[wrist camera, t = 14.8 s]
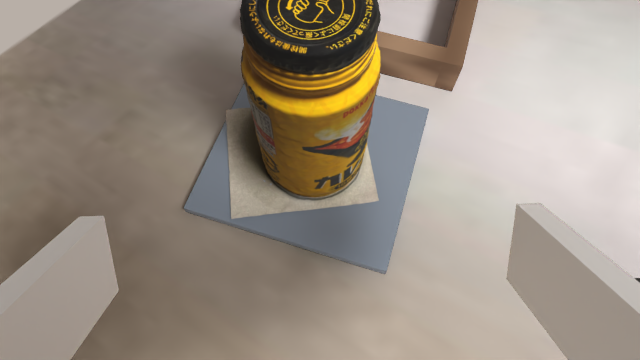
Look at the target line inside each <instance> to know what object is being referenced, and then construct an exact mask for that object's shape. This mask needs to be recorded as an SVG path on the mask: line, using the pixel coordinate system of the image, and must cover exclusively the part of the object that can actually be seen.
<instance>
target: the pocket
mask: <svg viewBox="0 0 640 360" xmlns="http://www.w3.org/2000/svg"><path fill="white" fill-rule="evenodd" d="M477 3H478V0H457V1H456V5H455V9H454V13H453V17H452V21H451V24H450V28H449V32H448V36H447V40H446V43H445V47H442V46H438V45H434V44H429V43H425V42H421V41H417V40H413V39H409V38H405V37H401V36H396V35H392V34H388V33H384V32H380V31H377V43H378V48H379V50H380V63H381V66H380V73H382V74H386V75H390V76H394V77H398V78H402V79H406V80H409V81H413V82H417V83H421V84H425V85H429V86H433V87H437V88H441V89H445V90H449V91H452V90H453V87H454V85H455V83H456V81H457V78H458V76H459V74H460V72H461V69H462V67H463V63H464V59H465V54H466V50H467V46H468V42H469V37H470V33H471V29H472V25H473V20H474V16H475V12H476V7H477Z"/></svg>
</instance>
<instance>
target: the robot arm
mask: <svg viewBox="0 0 640 360" xmlns="http://www.w3.org/2000/svg"><path fill="white" fill-rule="evenodd" d="M506 279H507V280H508V281H509V283H510V284H511V285H512V287H513V288H514V289H515V291H516V292H517V293H518V295H519V296H520V297H521V298H522V300H523V301H524V302H525V304H526V305H527V306H528V308H529V309H530V310H531V312H532V313H533V314H534V316H535V317H536V318H537V320H538V321H539V322H540V324H541V325H542V326H543V328H544V329H545V330H546V331H547V333H548V334H549V335H550V337H551V338H552V339H553V341H554V342H555V343H556V345H557V346H558V347H559V349H560V350H561V351H562V353H563V354H564V355H565V357H566V358H567V359H568V360H640V278H633V277H632V276H631V275H630V274H628V273H627V272H626V271H625V270H623V269H622V268H621V267H620V266H618V265H617V264H616V263H615V262H613V261H612V260H611V259H610V258H608V257H607V256H606V255H605V254H603V253H602V252H601V251H600V250H598V249H597V248H596V247H595V246H593V245H592V244H591V243H590V242H588V241H587V240H586V239H585V238H583V237H582V236H581V235H580V234H578V233H577V232H576V231H575V230H573V229H572V228H571V227H570V226H568V225H567V224H566V223H565V222H563V221H562V220H561V219H560V218H558V217H557V216H556V215H554V214H553V213H552V212H551V211H549V210H548V209H547V208H546V207H544V206H543V205H542V204H541V203H531V204H517V205H516V212H515V220H514V227H513V234H512V241H511V249H510V256H509V263H508V271H507V278H506ZM118 291H119V289H118V284H117V279H116V274H115V269H114V264H113V259H112V254H111V249H110V244H109V239H108V234H107V229H106V224H105V219H104V216H79V217H78V218H77V219H76V220H75V221H74V222H72V223H71V224H70V225H69V226H68V227H67V228H65V229H64V230H63V231H62V232H61V233H60V234H59V235H57V236H56V237H55V238H54V239H53V240H52V241H50V242H49V243H48V244H47V245H46V246H45V247H43V248H42V249H41V250H40V251H39V252H38V253H36V254H35V255H34V256H33V257H32V258H31V259H30V260H28V261H27V262H26V263H25V264H24V265H23V266H21V267H20V268H19V269H18V270H17V271H16V272H14V273H13V274H12V275H11V276H10V277H9V278H8V279H6V280H5V281H4V282H3V283H2V284H1V285H0V360H71V358H72V357H73V356H74V354H75V353H76V351H77V350H78V348H79V347H80V346H81V344H82V343H83V341H84V340H85V338H86V337H87V336H88V334H89V333H90V331H91V330H92V328H93V327H94V326H95V324H96V323H97V321H98V320H99V318H100V317H101V316H102V314H103V313H104V311H105V310H106V308H107V307H108V306H109V304H110V303H111V301H112V300H113V298H114V297H115V295H116V294H117V293H118Z"/></svg>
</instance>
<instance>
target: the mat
mask: <svg viewBox="0 0 640 360" xmlns="http://www.w3.org/2000/svg"><path fill="white" fill-rule="evenodd" d="M238 108H250V104H249V101H248V98H247V91H246V87H245V83H244V84H243V86H242V88H241V90H240V92H239V94H238V97H237V99H236V101H235V103H234V105H233V107H232V109H238ZM428 111H429V109H427V108H423V107H419V106H415V105H412V104H408V103H404V102H400V101H396V100H393V99H389V98H385V97H381V96H377V95H375V100H374V104H373V111H372V118H371V124H370V127H369V134H368V139H367V145H368V151H369V155H370V160H371V165H372V170H373V174H374V180H375V184H376V189H377V194H378V199H379V201H375V202H370V203H362V204H353V205H347V206H337V207H329V208H321V209H313V210H303V211H293V212H283V213H275V214H265V215H260V216H250V217H242V218H235V219H231V198H230V180H229V173H230V171H229V159H228V141H227V124H226V121H225V123H224V125H223V128H222V130H221V132H220V134H219V136H218V138H217V140H216V142H215V144H214V146H213V148H212V150H211V152H210V154H209V156H208V158H207V161H206V163H205V165H204V167H203V169H202V171H201V173H200V175H199V177H198V179H197V181H196V183H195V185H194V187H193V189H192V192H191V194H190V196H189V198H188V200H187V202H186V204H185V206H184V209H185V211H186V212H188V213H192V214H195V215H198V216H201V217H204V218H207V219H211V220H214V221H217V222H220V223H223V224H227V225H230V226H233V227H236V228H239V229H242V230H246V231H249V232H252V233H255V234H258V235H262V236H265V237H268V238H271V239H274V240H278V241H281V242H284V243H287V244H290V245H293V246H297V247H300V248H303V249H306V250H309V251H313V252H316V253H319V254H322V255H325V256H328V257H332V258H335V259H338V260H341V261H344V262H348V263H351V264H354V265H357V266H360V267H364V268H367V269H370V270H373V271H376V272H379V273H383V274H385V273H386V271H387V267H388V264H389V260H390V256H391V252H392V248H393V245H394V241H395V237H396V233H397V229H398V225H399V222H400V218H401V214H402V210H403V206H404V202H405V199H406V195H407V191H408V187H409V183H410V180H411V176H412V172H413V168H414V164H415V160H416V157H417V153H418V149H419V145H420V141H421V137H422V134H423V130H424V126H425V122H426V118H427V115H428ZM263 181H264V180H263ZM264 182H265V181H264ZM270 185H272V184H271V183H270Z"/></svg>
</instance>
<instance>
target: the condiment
mask: <svg viewBox="0 0 640 360" xmlns="http://www.w3.org/2000/svg"><path fill="white" fill-rule="evenodd" d="M240 13H241V17H240V20H241V29H242V33H243V40H244V47H243V50H242V58H241V71H242V77H243V79H244V83H245V87H246V91H247V98H248V101H249V104H250V108H238V109H230V110H226V124H227V141H228V159H229V171H230V173H229V180H230V198H231V219H235V218H242V217H250V216H260V215H265V214H275V213H283V212H293V211H303V210H313V209H321V208H329V207H337V206H347V205H353V204H362V203H370V202H375V201H379V199H378V194H377V189H376V184H375V180H374V174H373V170H372V165H371V160H370V155H369V151H368V145H367V139H368V134H369V127H370V124H371V118H372V111H373V104H374V100H375V95H376V89H377V86H378V83H379V79H380V66H381V63H380V50H379V48H378V43H377V31H378V26H379V23H380V11H379V5H378V2H377V0H242V5H241V9H240ZM263 180H264V181H265V182H264V181H263ZM270 183H271V184H272V185H270Z"/></svg>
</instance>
